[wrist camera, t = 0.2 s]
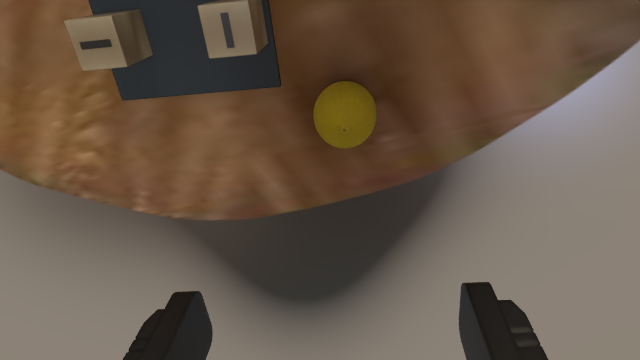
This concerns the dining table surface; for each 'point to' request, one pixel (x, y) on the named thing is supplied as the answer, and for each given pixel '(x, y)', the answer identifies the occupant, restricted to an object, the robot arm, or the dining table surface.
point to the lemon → (345, 114)
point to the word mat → (187, 54)
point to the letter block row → (133, 44)
